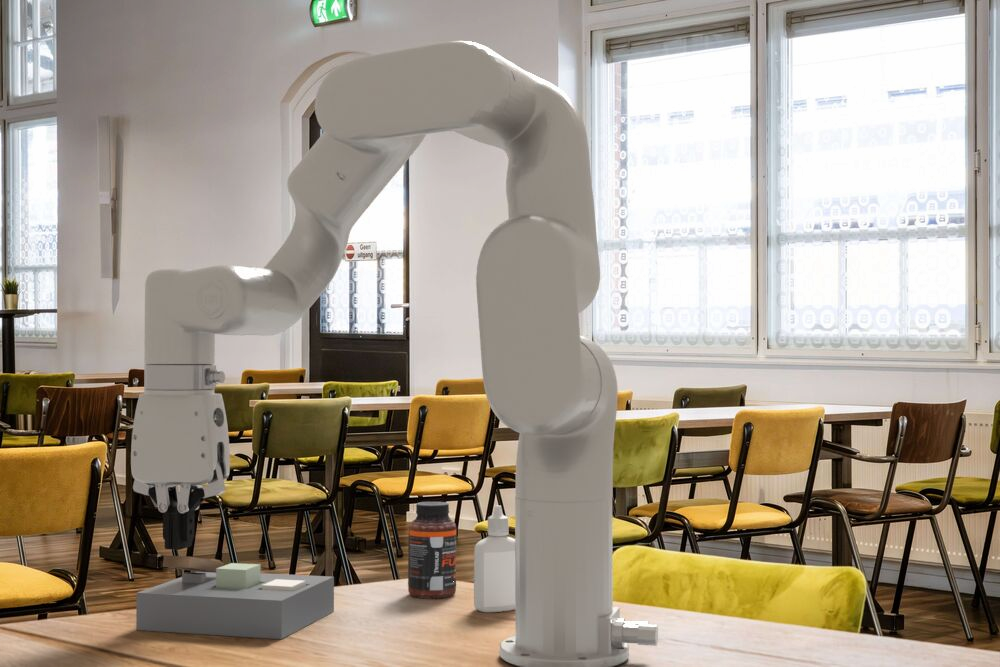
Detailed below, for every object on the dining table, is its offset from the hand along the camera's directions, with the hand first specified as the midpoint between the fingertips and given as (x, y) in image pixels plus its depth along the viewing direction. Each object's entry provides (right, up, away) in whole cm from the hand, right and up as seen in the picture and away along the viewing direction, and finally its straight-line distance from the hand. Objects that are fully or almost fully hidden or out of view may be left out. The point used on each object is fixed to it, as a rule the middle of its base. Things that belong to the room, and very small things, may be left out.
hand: (178, 547), depth 134 cm
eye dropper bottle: (+35, -9, +7) cm, 37 cm away
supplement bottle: (+27, -9, +16) cm, 33 cm away
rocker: (+1, -2, +3) cm, 4 cm away
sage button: (+6, -6, +2) cm, 9 cm away
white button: (+12, -7, 0) cm, 14 cm away
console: (+6, -8, +2) cm, 11 cm away
